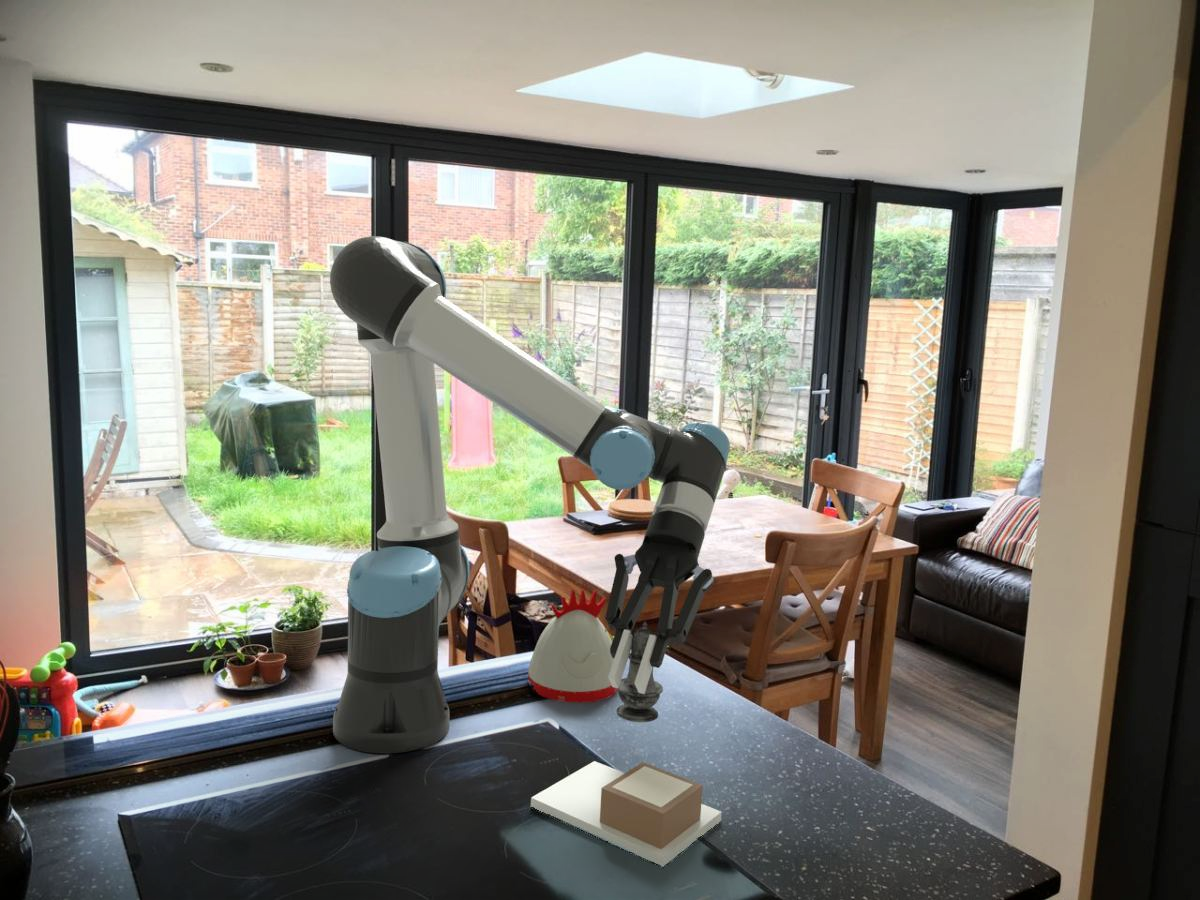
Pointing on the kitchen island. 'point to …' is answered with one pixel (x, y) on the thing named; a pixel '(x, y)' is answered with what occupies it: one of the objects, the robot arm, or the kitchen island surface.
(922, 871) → the kitchen island surface
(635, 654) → the salt shaker
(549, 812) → the build board
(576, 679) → the kitchen timer
